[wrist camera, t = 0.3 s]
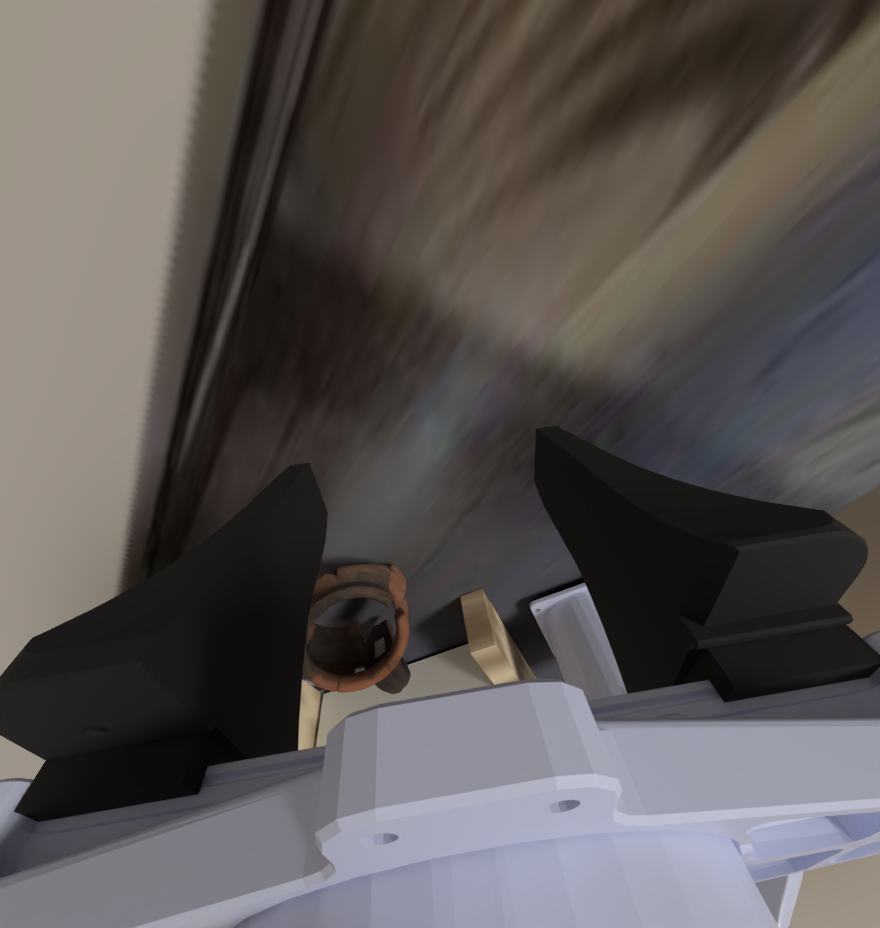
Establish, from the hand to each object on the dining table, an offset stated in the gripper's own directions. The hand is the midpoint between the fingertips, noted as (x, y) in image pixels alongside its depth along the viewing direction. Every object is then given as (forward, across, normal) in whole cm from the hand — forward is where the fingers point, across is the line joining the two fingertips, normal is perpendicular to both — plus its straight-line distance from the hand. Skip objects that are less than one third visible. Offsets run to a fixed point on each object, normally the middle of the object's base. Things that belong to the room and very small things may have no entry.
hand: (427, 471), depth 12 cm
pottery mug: (+11, +8, +20) cm, 24 cm away
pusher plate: (+10, +6, +29) cm, 31 cm away
